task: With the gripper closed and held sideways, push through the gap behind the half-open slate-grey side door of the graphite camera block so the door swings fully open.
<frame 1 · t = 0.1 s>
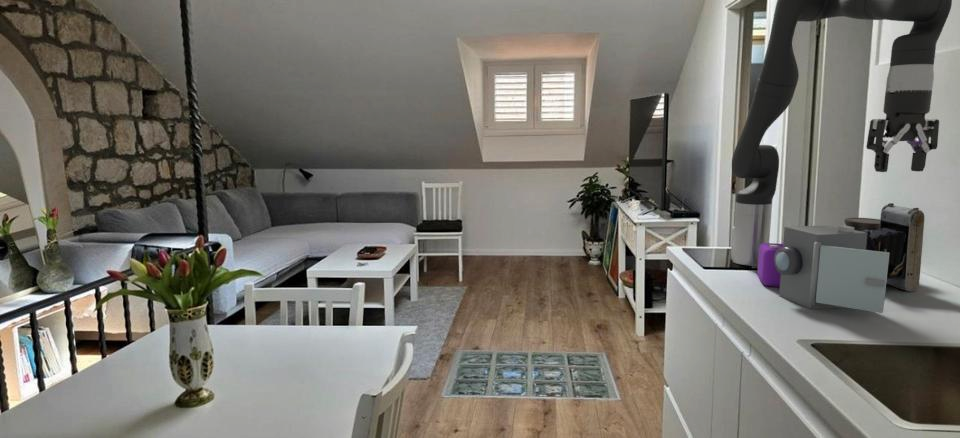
hand: (898, 171, 118), 29 cm above the table, fingers open, 8 cm apart
side door: (847, 278, 118), point 8 cm above the table, hinge at 50.0°
vintage camera: (873, 288, 141), on the table
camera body: (818, 300, 130), on the table
coffee can: (862, 273, 155), on the table
toy camera: (777, 282, 146), on the table
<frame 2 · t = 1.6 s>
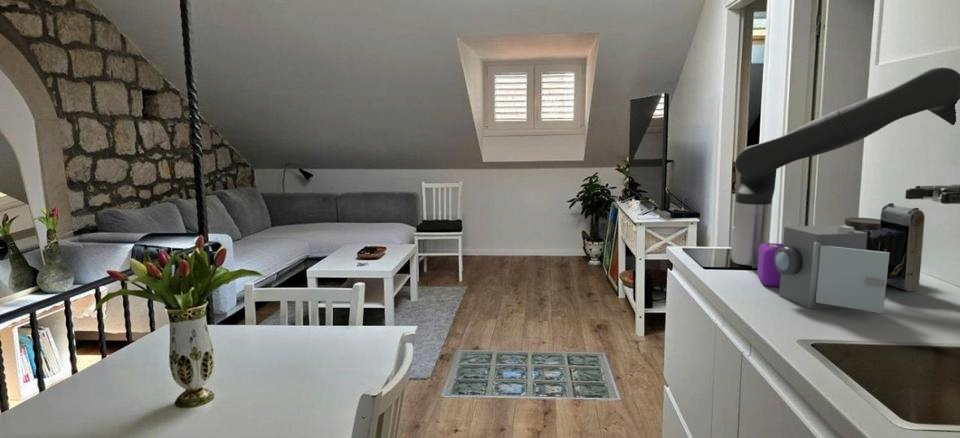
hand: (924, 196, 119), 24 cm above the table, fingers open, 7 cm apart
nothing on the table moved.
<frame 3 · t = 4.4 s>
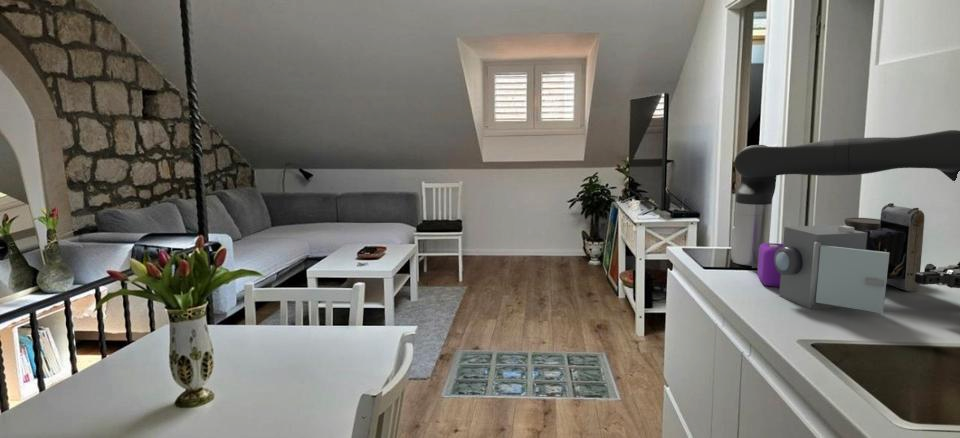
hand: (918, 278, 118), 8 cm above the table, fingers closed
nothing on the table moved.
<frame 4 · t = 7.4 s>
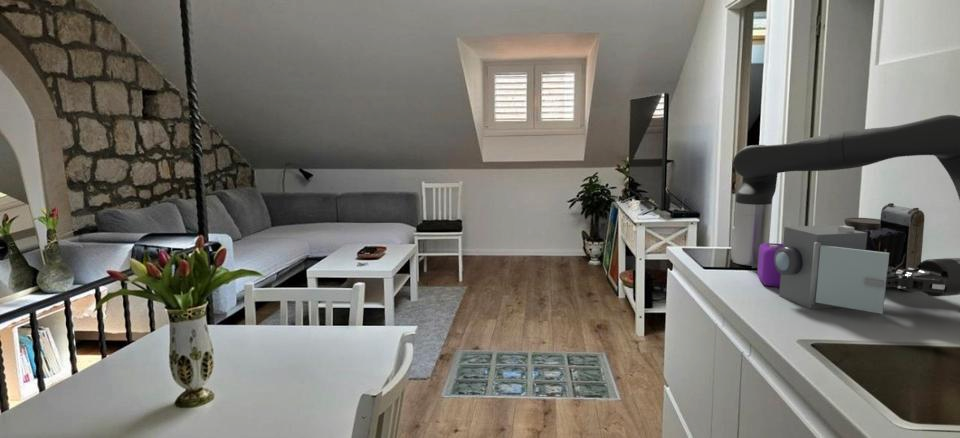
hand: (876, 281, 116), 8 cm above the table, fingers closed
side door: (847, 278, 118), point 8 cm above the table, hinge at 52.0°, touching gripper
everything else where it was.
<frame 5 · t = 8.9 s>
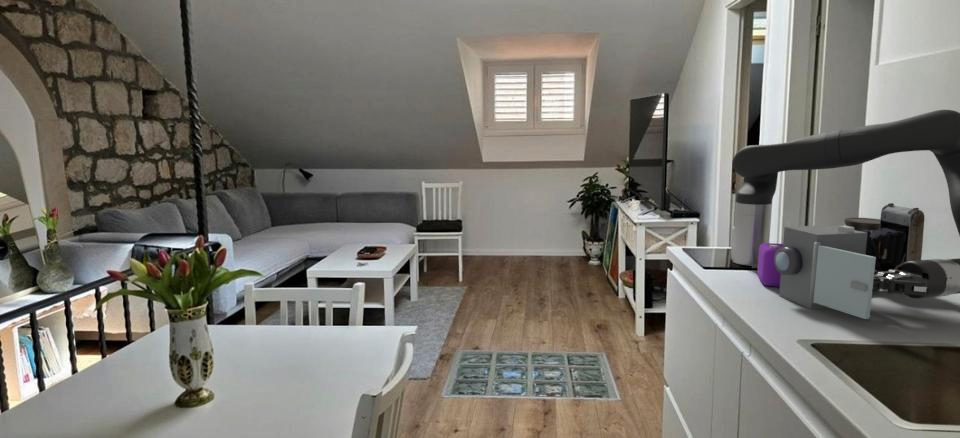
hand: (858, 284, 114), 8 cm above the table, fingers closed
side door: (839, 280, 117), point 8 cm above the table, hinge at 81.5°, touching gripper
everything else where it was.
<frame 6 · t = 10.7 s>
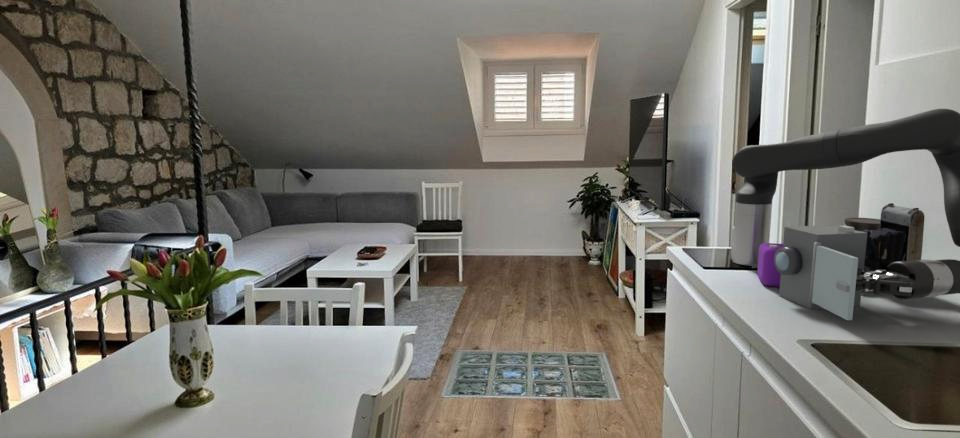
hand: (844, 284, 113), 8 cm above the table, fingers closed
side door: (830, 280, 116), point 8 cm above the table, hinge at 99.6°, touching gripper
everything else where it was.
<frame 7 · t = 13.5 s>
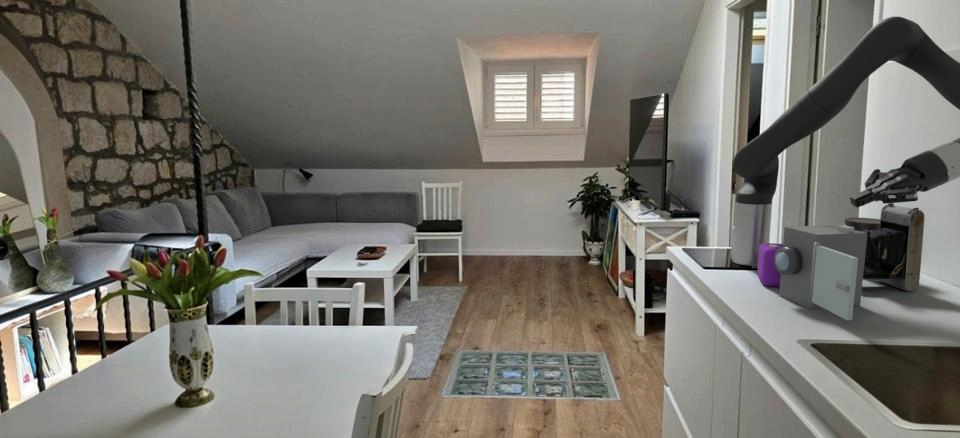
hand: (852, 202, 123), 22 cm above the table, fingers closed
side door: (830, 280, 116), point 8 cm above the table, hinge at 99.7°
everything else where it was.
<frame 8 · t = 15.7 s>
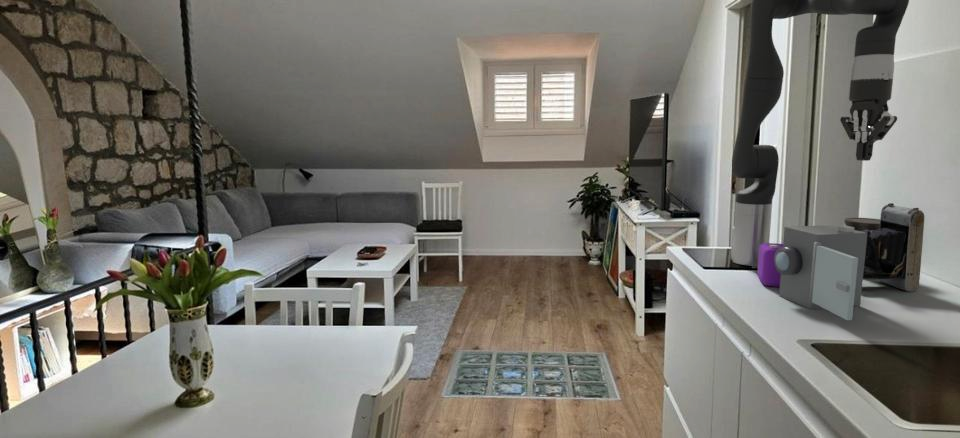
hand: (863, 160, 127), 31 cm above the table, fingers closed
nothing on the table moved.
at the end: side door at +100° (first picture: +50°) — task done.
